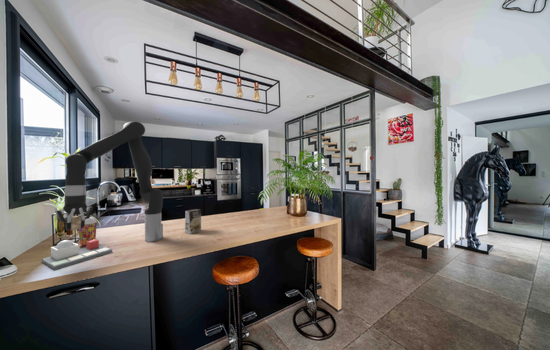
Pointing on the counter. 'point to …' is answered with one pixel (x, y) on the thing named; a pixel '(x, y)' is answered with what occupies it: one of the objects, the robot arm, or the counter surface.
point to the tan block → (75, 222)
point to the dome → (64, 244)
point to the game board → (74, 254)
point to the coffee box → (192, 221)
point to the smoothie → (88, 231)
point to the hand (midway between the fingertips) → (75, 228)
